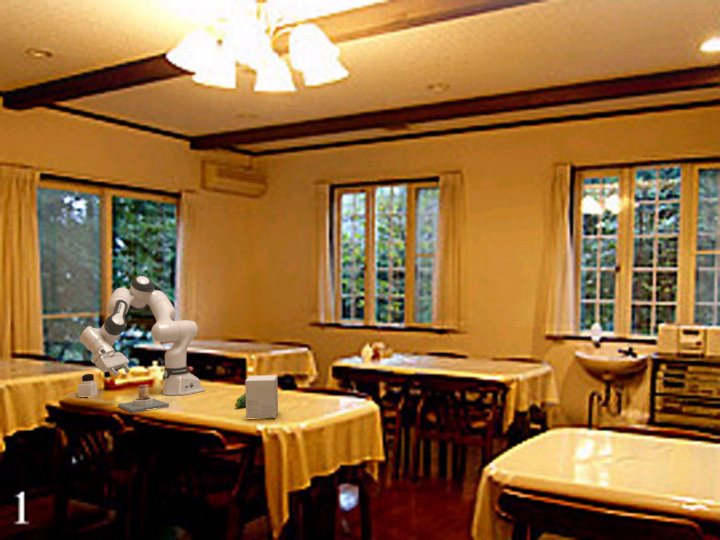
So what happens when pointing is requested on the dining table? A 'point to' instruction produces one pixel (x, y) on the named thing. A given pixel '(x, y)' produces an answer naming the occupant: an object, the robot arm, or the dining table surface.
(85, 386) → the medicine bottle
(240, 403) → the vegetable
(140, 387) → the oak peg
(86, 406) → the dining table surface
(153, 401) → the ring collar board
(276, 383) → the supplement box
